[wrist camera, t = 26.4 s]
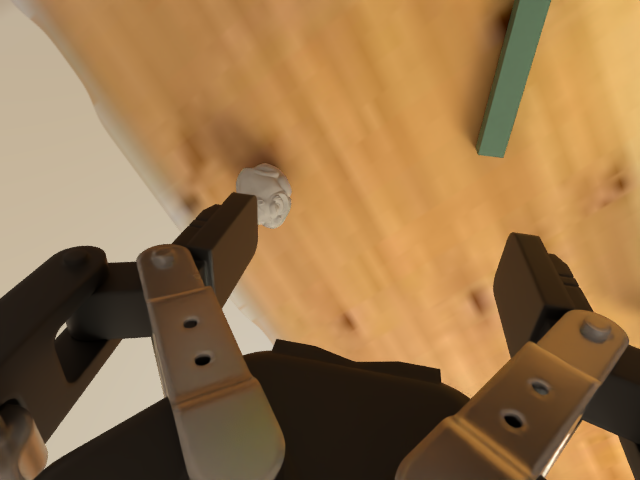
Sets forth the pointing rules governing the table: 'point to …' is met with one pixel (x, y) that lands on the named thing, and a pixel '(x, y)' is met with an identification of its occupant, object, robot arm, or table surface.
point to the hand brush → (511, 75)
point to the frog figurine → (267, 192)
